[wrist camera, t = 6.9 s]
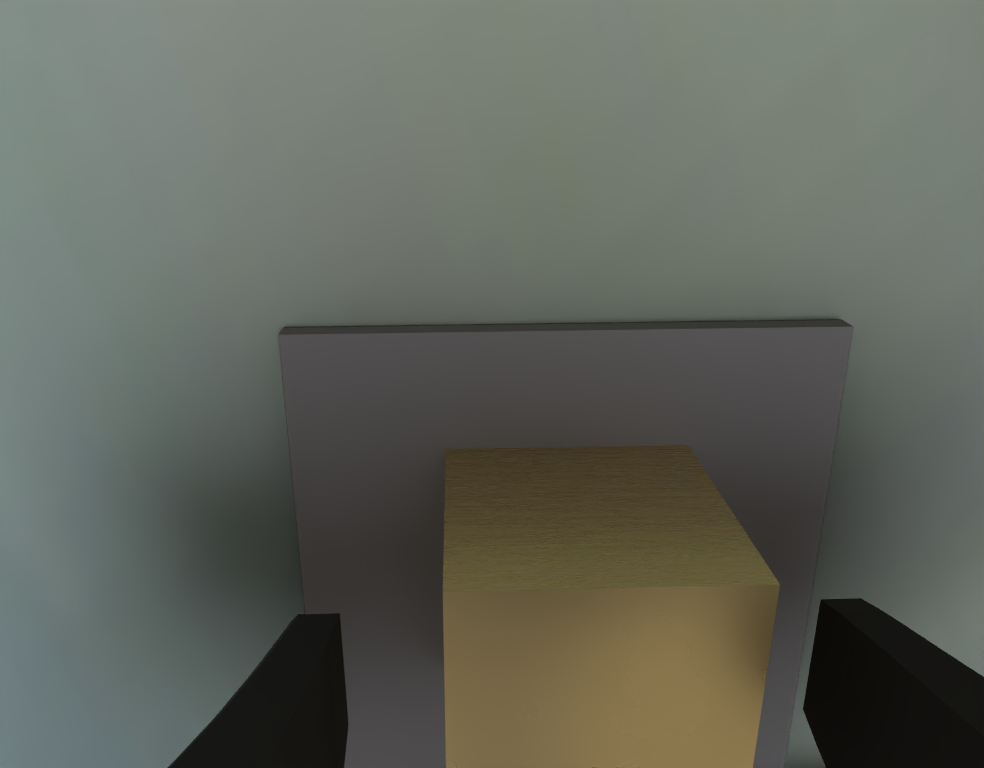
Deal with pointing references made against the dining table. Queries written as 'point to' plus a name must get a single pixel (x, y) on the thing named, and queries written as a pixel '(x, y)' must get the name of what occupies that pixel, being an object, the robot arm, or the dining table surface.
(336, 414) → the mat
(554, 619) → the tan cube
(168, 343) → the dining table surface
